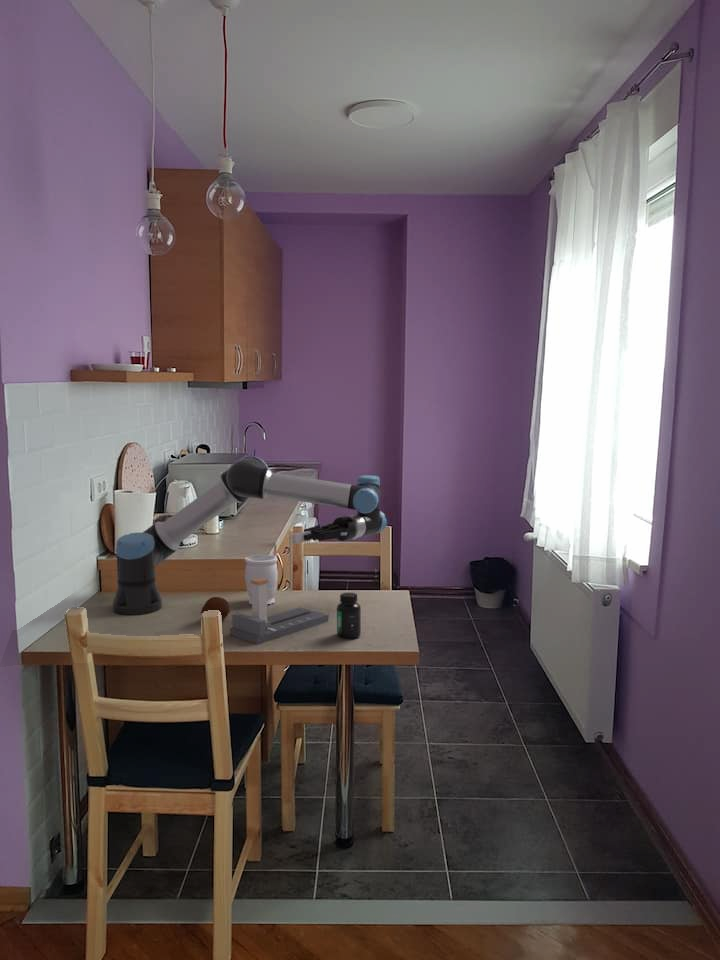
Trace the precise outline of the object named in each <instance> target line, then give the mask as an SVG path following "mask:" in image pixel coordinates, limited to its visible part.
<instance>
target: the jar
mask: <svg viewBox="0 0 720 960" xmlns="http://www.w3.org/2000/svg"><path fill="white" fill-rule="evenodd" d="M244 562H245V563H246V565H245V571H244V579H245V586H246V592H247V594H248V596H249V600H248V604H250V605H252V584H251V580H252V579H257V578H263V579H267V580H268V583H267V606H269V605H268V604H270V605H273V604H275V603H276V600H275V598H274V597H275V595H276V592H277V585H278V580H279V579H278V578H279V574H278V572H279V571H278V566H277V562H278V556H275V555H270V554H255V555H249V556H247V557H245V558H244ZM272 603H273V604H272Z"/></svg>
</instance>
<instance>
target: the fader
mask: <svg viewBox="0 0 720 960" xmlns="http://www.w3.org/2000/svg"><path fill="white" fill-rule="evenodd" d="M267 583H268V580H267V579H263V578H257V579H252V580H251V584H252V604H251V611H252V615H251V617H255V618H258V619H261V620H265V628H266V627H270V626H271V622H270V621H267V617H268V605H267Z"/></svg>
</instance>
